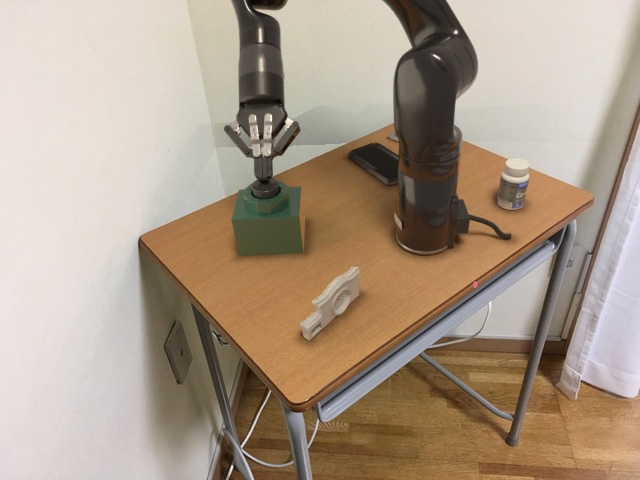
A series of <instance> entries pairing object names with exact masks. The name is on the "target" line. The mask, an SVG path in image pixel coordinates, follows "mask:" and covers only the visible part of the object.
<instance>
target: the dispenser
mask: <svg viewBox="0 0 640 480" xmlns="http://www.w3.org/2000/svg"><path fill="white" fill-rule="evenodd" d="M276 180H277V181H278V184H279V191H280V193H279V194H278V195H277V196H276V197H273V198H270V199H262V200H260V199H257V198H254V197H253V192H252V183H253V182H251V183H250V184H249V185H247V186H246V187H245V188H243V189H238V192H237V196H236V200H235V204H234V209H233V212H232V217H231V224H232V229H233V233H234V238H235V243H236V247H237V252H238V257H253V256H255V257H256V256H273V255H296V254H304V253H305V235H306V234H305V233H306V216H305V214H306V213H305V206H304V197H303V188H302V186H301V185H300V186H299V185H298V186H288V185H287V184H286V183H285V182H284V181H283V180H279V179H276Z"/></svg>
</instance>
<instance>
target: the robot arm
mask: <svg viewBox="0 0 640 480" xmlns="http://www.w3.org/2000/svg"><path fill="white" fill-rule="evenodd" d="M381 1H383V3H384V4H385V5H387V7H388V8H389V9H390V10H391V11H392V13H393V14H394V15H395V17H396V18H397V20H398V21H399V23H400V25H401V26H402V29H403V31H404V33H405V35H406V37H407V39H408V41H409V44H410V46H411V48H410V49H408V50H407V51H405V52H404V53H403V54H402V55H401V56H400V58H399V59H398V61H397V62H396V65H395V69H394V74H393V81H392V103H393V104H392V105H393V106H392V107H393V109H392V110H393V127H394V132H395V136H396V137H397V140H398V155H399V160H398V183H397V198H396V201H397V202H396V213H394V221H395V223H396V227H395V228H396V229H395V240H396V243H397V245H398V246H399V247H400V248H401V249H402V250H405V251H406V252H408V253H411V254H413V255H418V256H419V255H420V256H433V255H438V254H440V253H442V252H445V251H446V250H447V249H453V248H455V242H456V235H457V234H458V235H459V234H469V228H470V223H471V221H473V222H476V223H480V224H483V225H484V226H487V227H489V228H491V229H492V230H493V231H494V232H495V233H496V235H497V236H499V238H501V239H504V240H509V239H512V233H505V232H503V231H502V230H501V229H500V227H499V226H498V225H497V224H495V223H494V222H493V221H490V220H488V219H486V218H483V217H480V216H476V215H473V214H470V213H469V211H468V208H467V206H466V203H465V200H464V199H463V198H461V199H460V198H459V195H458V193H457V192H458V183H459V182H458V181H459V173H460V165H461V156H462V149H463V148H462V147H463V132H462V130H461V129H460V127H458V126H457V125H456V124H455V117H456V115H455V113H456V105H457V104H456V103H457V100H458V99H459V98H461V97H462V96H463V95H464V94H465V93H466V92H467V91H468V90H469V89H470V88H472V86H473V85H474V83H475V81H476V79H477V76H478V72H479V59H478V55H477V51H476V49H475V46H474V44H473V42H472V41H471V39H470V37H469V35H468V34H467V32H466V30H465V29H464V27H463V25H462V24H461V22H460V21H459V19H458V17H457V15H456V14H455V12H454V10H453V8H452V7H451V5H450V4H449V2H448V0H381ZM288 2H289V0H230V3H231V6H232V8H233V11H234V14H235V18H236V22H237V27H238V62H237V63H238V65H237V73H238V74H237V79H238V82H237V83H238V112H237V113H236V115H235V121H233V122H232V123H231V124H226V125H224V127H223V131H224V132H225V134H226V135H227V136H228V138H229V139H230V140H231V141H232V142H233V143H234V144H235V146H236V147H237V148H238V149H239V150H240V151H241V153H242V154H243V155H244V156H245V157H246V158H248V159H249V158H250V159H253V176H254V177H255V178H256V180H257V179H258V180H259V182H260V183H261V182H269V178H273V176H274V167H273V165H274V161H273V160H274V159H275V158H276V157H282V156H283V155H284V154H285V153H286V151H287V150H288V148H290V146H291V145H292V143H293V142H294V141H295V139H296V137H298V135H299V134H300V132H301V125H300V123H299V122H298V121H297V120H296V121H295V120H293V119H291V118H290V117H289V115H288V112H287V110H286V106H285V105H286V103H285V102H286V101H285V71H284V62H283V55H282V33H281V32H282V31H281V30H282V29H281V24H280V23H279V21H278V20H277V18H275V17H274V16H272V15H271V14H267V13H264V12H263V11H275V12H276V11H281V10H282V9H283V8H284V7H286V6H287V3H288ZM258 10H260V11H258ZM261 11H262V12H261ZM240 128H241V129H242V131H244V132H245V134H246V136H248V138H250V140H251V144H252V148H251V147H249V146H248V144H246V142H245V141H244V140H243V139H242V138H241V137H240V136H241V135H242V131H241V129H240ZM283 128H284V131H285V132H284V133H283V135H281V137H280V139H279V140H278V141H277V143H276V144H275V139H276V137H278V135H280V133H281V131H282V130H283Z"/></svg>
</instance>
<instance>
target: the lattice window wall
mask: <svg viewBox="0 0 640 480" xmlns="http://www.w3.org/2000/svg"><path fill="white" fill-rule="evenodd" d="M360 274H361V270H360V269H359V267H358V266H350V268H349V269H348V270H346V272H344V273H343V274H341V275H338V276H337V277H335V278H334V279H332V281H330V283H329V284H328V285H327V287H324V288H325V289H323V290H322V291H321V293H320V294H319V295H318V296H316V297H315V298H314V299H313V300H311V304H312V305H313V306H314V309H315V311H314V312H313V311H312V312H311V313H310V314H309V315H308V317H306V318H305V319H303V321H301V322H299V325H300V327H301V329H302V330H301V331H302V335H303V338H304V339H306V340H308V341H309V342H310V341H311V340H313V338H314V337H316V335H318V334H319V333H320V332H321V331H322V330H323V329H324V328H326V326H328V324H330V323H331V322H332V321H333V320H334V319H336V317H338V316H341V315H342V314H343V313H344V312H345V311H346V310H347V309H348V307H349V305H350V304H351V303H352V302H354V301H355V300H356V299H357V298H358V297H359V296H360Z"/></svg>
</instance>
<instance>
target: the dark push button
mask: <svg viewBox="0 0 640 480" xmlns="http://www.w3.org/2000/svg"><path fill="white" fill-rule="evenodd" d="M277 180H278V179H276V178H273V177H272V178H269V182H261V183H260V182H259V180H258V179H257V178H256V180H254V181H253V182H251V183H252V192H253V197H254V198H257V199H260V200H262V199H270V198H273V197H276V196H277V195H278V194H279V193H280V191H279V184H278V181H277Z"/></svg>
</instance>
